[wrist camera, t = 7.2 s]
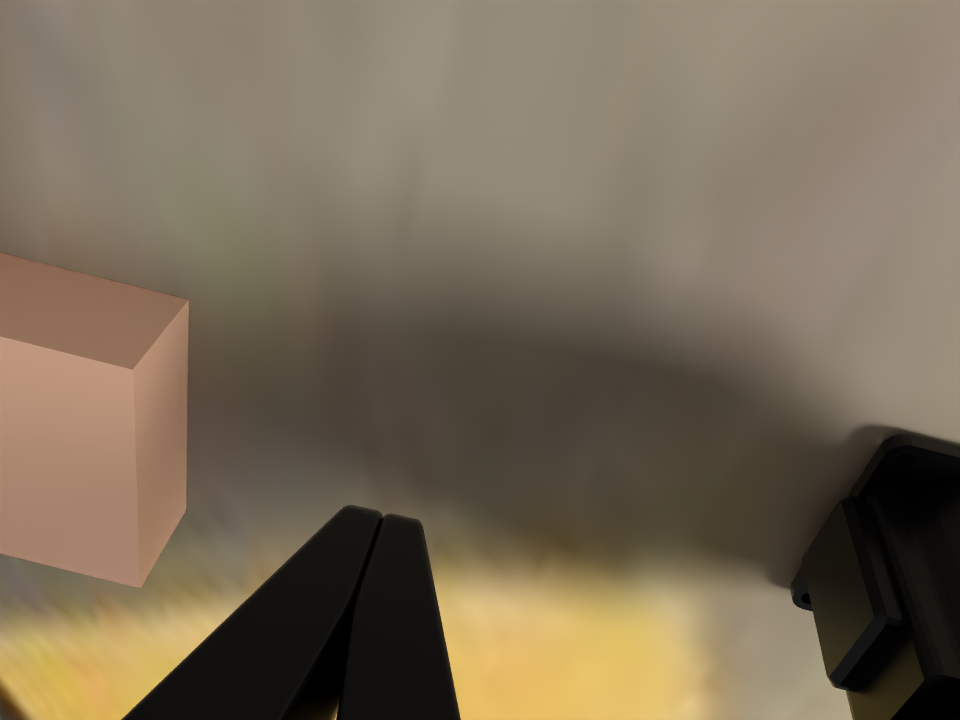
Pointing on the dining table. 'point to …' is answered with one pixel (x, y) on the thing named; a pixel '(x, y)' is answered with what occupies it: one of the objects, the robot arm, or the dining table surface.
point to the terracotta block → (90, 420)
